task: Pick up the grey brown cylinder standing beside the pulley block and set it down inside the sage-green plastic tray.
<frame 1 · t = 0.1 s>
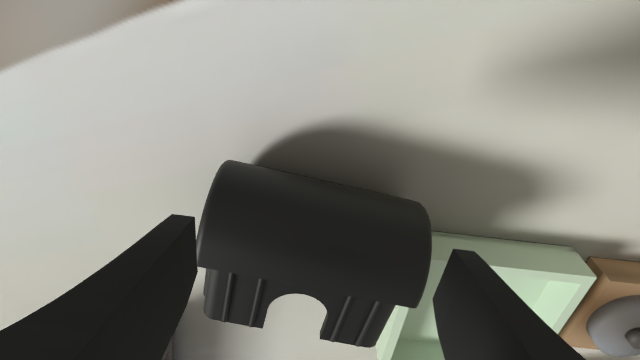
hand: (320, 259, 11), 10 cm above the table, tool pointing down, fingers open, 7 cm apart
tray: (464, 295, 25), on the table
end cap: (313, 204, 22), on the table
pulley block: (604, 294, 25), on the table
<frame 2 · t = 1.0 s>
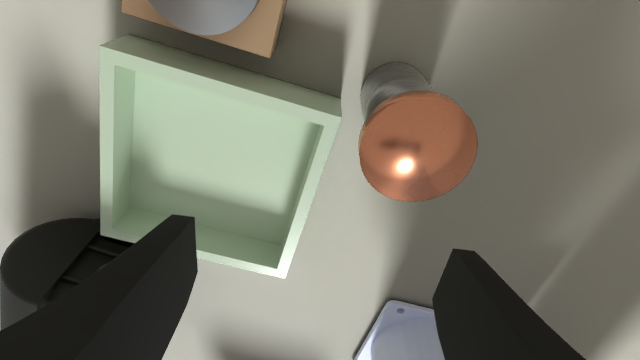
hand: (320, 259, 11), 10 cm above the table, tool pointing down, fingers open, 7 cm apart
tray: (221, 158, 20), on the table
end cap: (111, 269, 25), on the table
grey brown cylinder: (393, 95, 18), on the table
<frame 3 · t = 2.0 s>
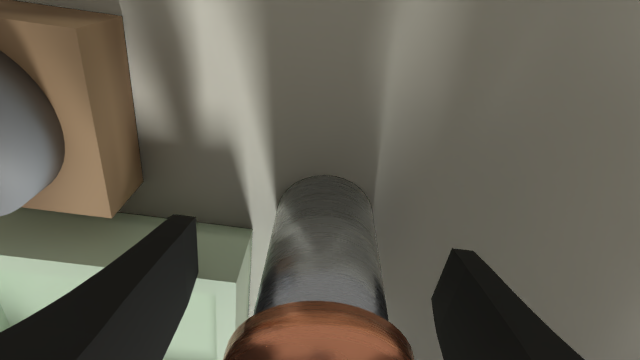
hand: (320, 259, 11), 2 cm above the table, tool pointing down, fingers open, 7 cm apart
tray: (123, 311, 15), on the table
pulley block: (28, 94, 11), on the table
grey brown cylinder: (324, 216, 13), on the table
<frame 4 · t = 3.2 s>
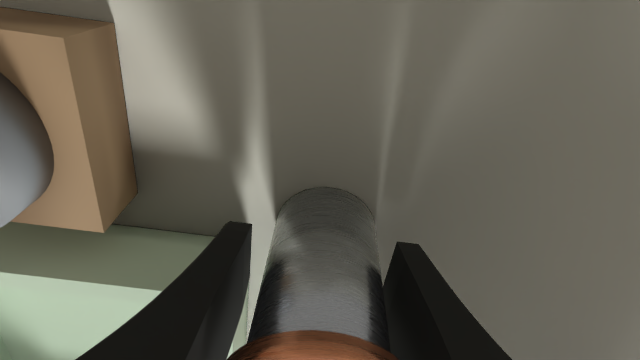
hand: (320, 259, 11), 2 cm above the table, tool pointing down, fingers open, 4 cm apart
tray: (118, 323, 15), on the table
pulley block: (17, 103, 10), on the table
grey brown cylinder: (325, 229, 12), on the table, touching gripper
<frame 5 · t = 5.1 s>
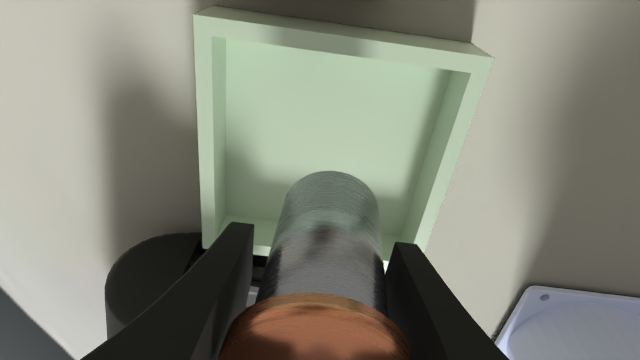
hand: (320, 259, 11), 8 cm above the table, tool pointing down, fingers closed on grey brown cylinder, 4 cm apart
tray: (326, 141, 17), on the table
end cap: (206, 287, 23), on the table
grey brown cylinder: (330, 212, 13), point 5 cm above the table, touching gripper
when the fingers open (4 cm above the table, at t = 6.6 s): grey brown cylinder stays where it is, resting on tray.
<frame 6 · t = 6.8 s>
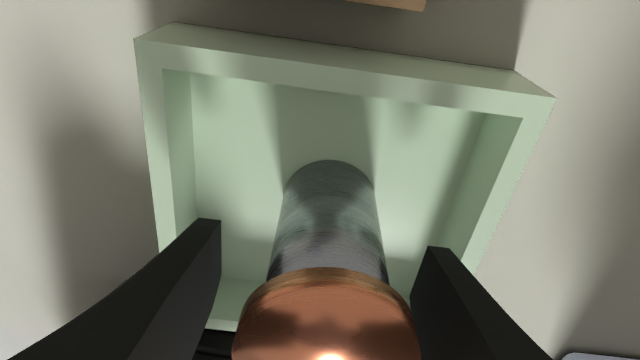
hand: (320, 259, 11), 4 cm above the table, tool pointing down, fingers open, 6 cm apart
tray: (323, 190, 14), on the table
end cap: (182, 349, 19), on the table
grey brown cylinder: (329, 199, 13), point 1 cm above the table, touching tray
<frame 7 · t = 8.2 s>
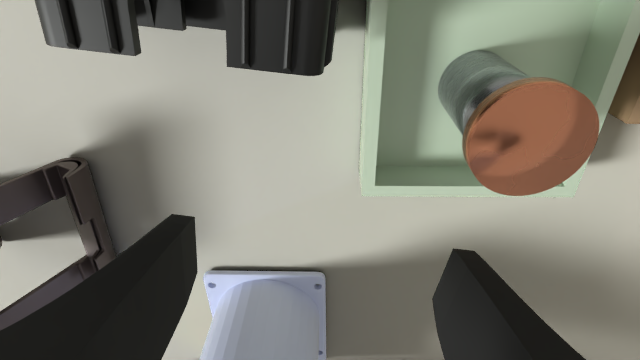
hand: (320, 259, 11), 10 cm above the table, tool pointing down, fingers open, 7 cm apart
tray: (470, 78, 18), on the table
grey brown cylinder: (473, 85, 18), point 1 cm above the table, touching tray
portable electronic device stand: (51, 214, 23), on the table
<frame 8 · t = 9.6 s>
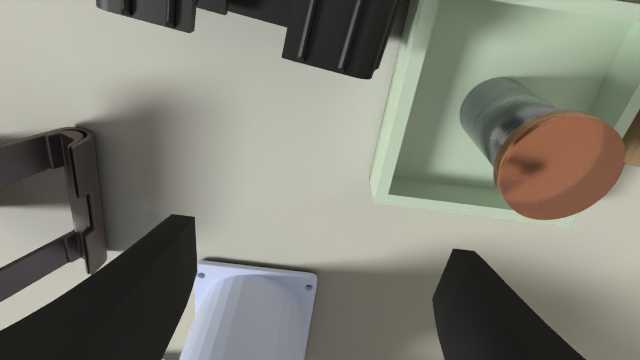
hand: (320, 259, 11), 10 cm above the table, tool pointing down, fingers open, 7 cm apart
tray: (491, 102, 19), on the table
grey brown cylinder: (493, 110, 18), point 1 cm above the table, touching tray
portable electronic device stand: (41, 184, 22), on the table
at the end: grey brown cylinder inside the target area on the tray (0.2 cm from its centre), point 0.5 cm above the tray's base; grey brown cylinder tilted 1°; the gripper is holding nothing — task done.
